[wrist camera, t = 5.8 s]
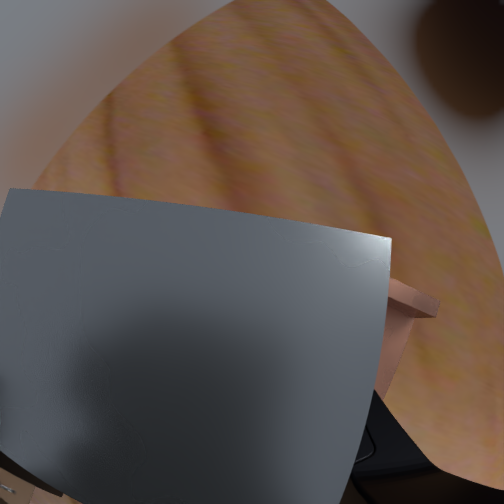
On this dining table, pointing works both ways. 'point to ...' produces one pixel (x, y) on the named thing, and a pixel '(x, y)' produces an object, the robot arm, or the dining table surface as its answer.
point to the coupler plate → (400, 327)
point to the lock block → (185, 350)
